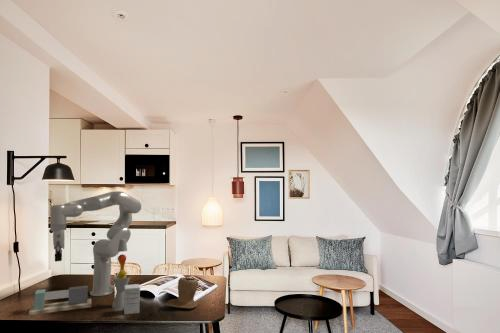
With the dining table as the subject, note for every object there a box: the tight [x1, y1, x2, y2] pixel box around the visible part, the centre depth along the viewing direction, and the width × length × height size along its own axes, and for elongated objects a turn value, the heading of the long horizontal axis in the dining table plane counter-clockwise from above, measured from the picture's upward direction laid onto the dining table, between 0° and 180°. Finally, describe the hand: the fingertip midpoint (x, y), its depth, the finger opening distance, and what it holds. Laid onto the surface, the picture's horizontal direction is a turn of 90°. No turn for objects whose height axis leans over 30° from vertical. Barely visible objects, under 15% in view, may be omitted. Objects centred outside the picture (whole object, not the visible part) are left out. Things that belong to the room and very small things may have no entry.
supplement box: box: [123, 283, 141, 315], centre depth 173 cm, size 7×7×13 cm
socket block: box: [33, 288, 46, 310], centre depth 173 cm, size 4×7×8 cm, turn 26°
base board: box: [28, 298, 93, 316], centre depth 177 cm, size 28×10×2 cm, turn 116°
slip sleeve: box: [67, 285, 89, 306], centre depth 180 cm, size 9×5×8 cm, turn 116°
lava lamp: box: [111, 239, 131, 309], centre depth 182 cm, size 9×9×35 cm
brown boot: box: [165, 276, 199, 310], centre depth 181 cm, size 15×12×15 cm
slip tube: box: [44, 289, 69, 301], centre depth 177 cm, size 16×3×3 cm, turn 116°
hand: (58, 259), depth 184 cm, fingers open, 9 cm apart
